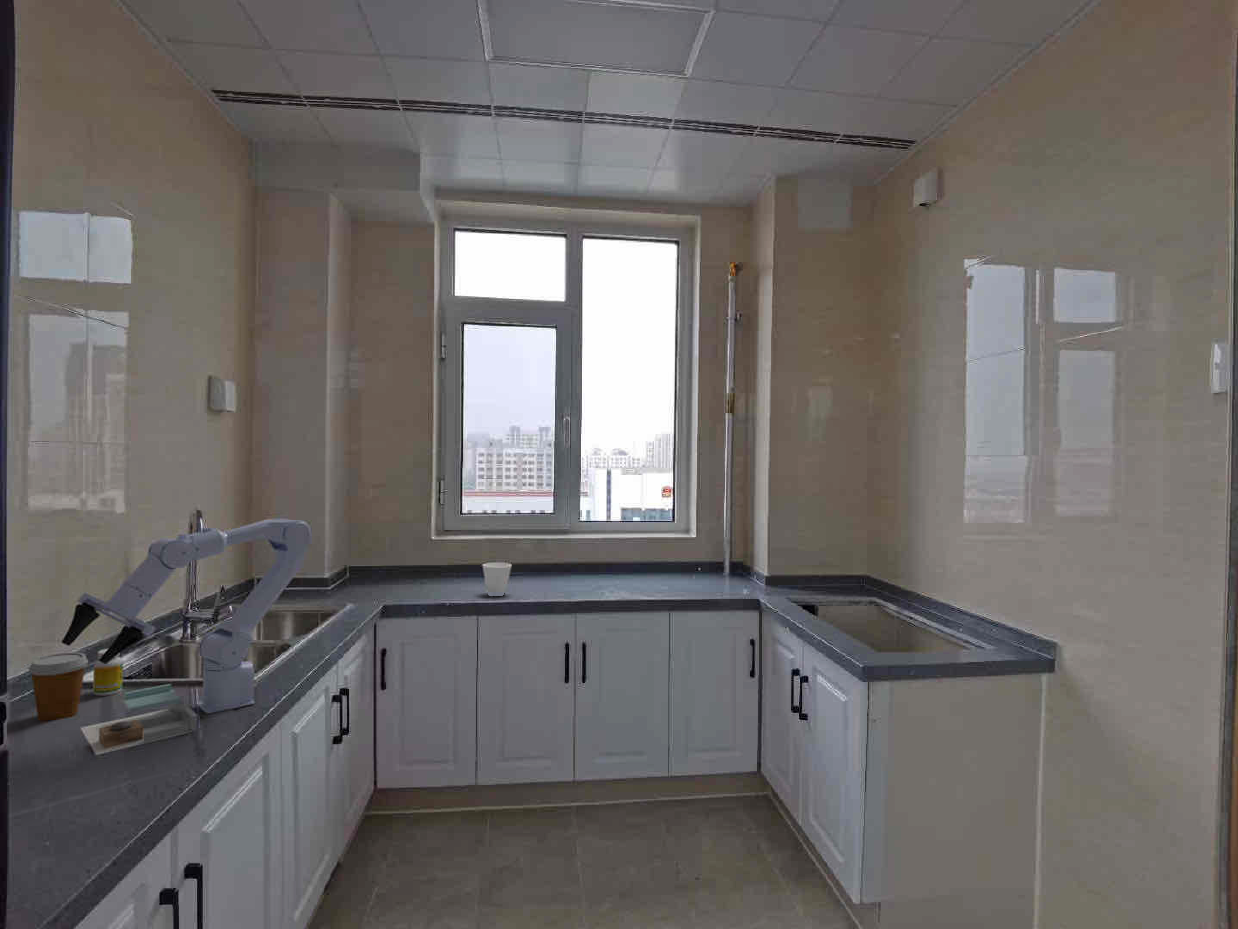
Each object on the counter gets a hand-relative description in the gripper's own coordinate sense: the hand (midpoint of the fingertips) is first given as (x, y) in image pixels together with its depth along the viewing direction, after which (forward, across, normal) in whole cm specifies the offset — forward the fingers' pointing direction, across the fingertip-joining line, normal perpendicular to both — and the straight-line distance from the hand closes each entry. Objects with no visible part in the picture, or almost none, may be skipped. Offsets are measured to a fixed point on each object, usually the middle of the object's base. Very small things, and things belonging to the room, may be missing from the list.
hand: (83, 653), depth 127 cm
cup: (-82, +61, +119) cm, 156 cm away
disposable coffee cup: (+12, -6, +23) cm, 27 cm away
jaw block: (+10, +13, +7) cm, 18 cm away
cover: (+2, +11, +14) cm, 18 cm away
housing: (+8, +13, +12) cm, 19 cm away
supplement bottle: (+5, -5, +35) cm, 36 cm away
